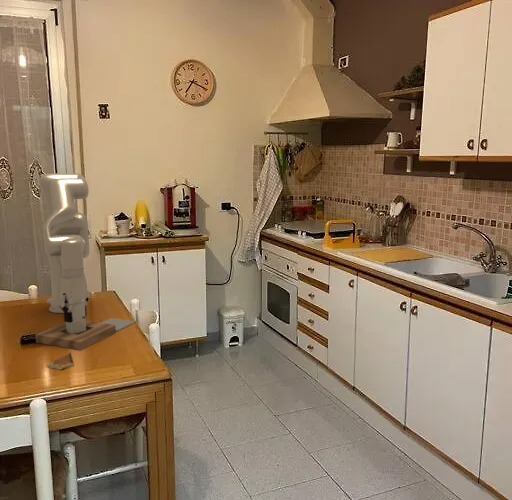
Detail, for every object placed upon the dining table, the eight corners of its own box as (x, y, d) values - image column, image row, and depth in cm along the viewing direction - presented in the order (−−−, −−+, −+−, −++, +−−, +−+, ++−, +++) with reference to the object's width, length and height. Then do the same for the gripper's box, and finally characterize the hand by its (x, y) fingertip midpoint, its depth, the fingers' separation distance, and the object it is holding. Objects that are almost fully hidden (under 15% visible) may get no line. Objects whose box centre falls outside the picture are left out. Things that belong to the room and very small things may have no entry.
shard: (70, 356, 177) (70, 351, 177) (88, 360, 174) (88, 355, 174) (46, 368, 167) (45, 363, 167) (64, 372, 164) (63, 367, 164)
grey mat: (92, 327, 205) (92, 326, 205) (111, 319, 216) (111, 318, 216) (117, 331, 201) (117, 330, 201) (135, 322, 212) (135, 321, 212)
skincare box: (71, 334, 191) (69, 303, 189) (65, 331, 194) (63, 300, 192) (87, 331, 195) (85, 299, 193) (81, 327, 198) (79, 297, 196)
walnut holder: (36, 342, 189) (35, 334, 189) (74, 326, 207) (73, 318, 207) (80, 350, 182) (79, 341, 181) (115, 332, 200) (115, 325, 200)
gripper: (81, 266, 200) (83, 311, 203) (47, 276, 184) (50, 324, 187) (96, 268, 197) (99, 313, 200) (64, 278, 181) (67, 327, 184)
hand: (75, 318), depth 194 cm, fingers closed on skincare box, 7 cm apart
